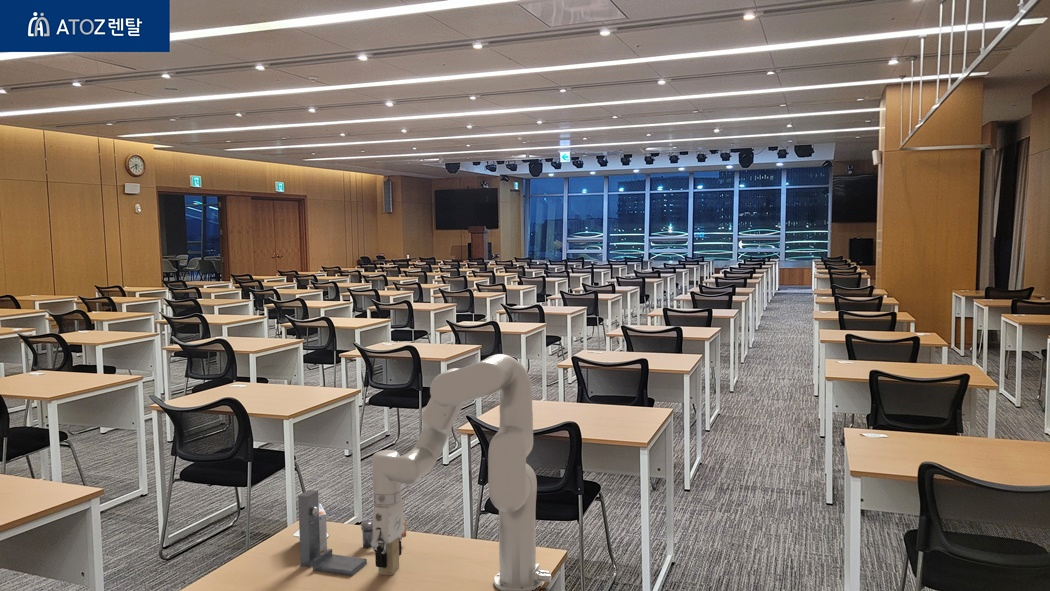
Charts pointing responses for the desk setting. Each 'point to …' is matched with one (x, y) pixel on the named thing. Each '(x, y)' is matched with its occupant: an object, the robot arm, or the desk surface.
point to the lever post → (367, 538)
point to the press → (312, 541)
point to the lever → (369, 526)
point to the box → (391, 558)
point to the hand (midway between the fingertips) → (388, 560)
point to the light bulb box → (322, 528)
